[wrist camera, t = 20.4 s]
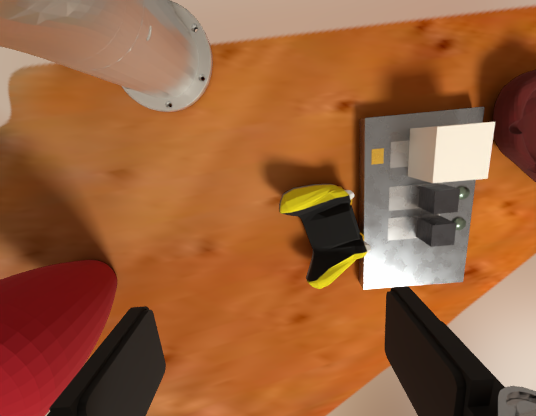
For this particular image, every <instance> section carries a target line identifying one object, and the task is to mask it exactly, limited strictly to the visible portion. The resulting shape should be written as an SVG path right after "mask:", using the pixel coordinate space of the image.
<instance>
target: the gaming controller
mask: <svg viewBox="0 0 536 416" xmlns="http://www.w3.org/2000/svg"><path fill="white" fill-rule="evenodd" d="M353 197H354V193H353V192H352V191H350V190H344V189H343V188H342V187H341V186H336V185H334V184H313V185H307V186H302V187H296V188H292V189H290V190H289V191H287V192H285V193H284V194H283V195H282V198H281V200H280V204H279V212H280V213H282V214H286V215H291V216H298V217H300V218H301V220H302V222H303V225H304V227H305V230H306V233H307V235H308V238H309V240H310V243H311V246H312V249H313V255H312V259H311V263H310V266H309V270H308V273H307V276H306V279H307V282H308V283H309V284H310V285H311V286H312V287H315V288H318V289H321V288H323V287H325V286H327V285H330V284H331V283H332V282H333V281H334V280H335V279H336V278H337V277H338V276H339V275H340V274H341V273H343V272H344V271H345V270H346V269H347V268H348V267H349V266H350V265H351V264H352V263H353V262H354V261H356V260H357V259H359V258H363V257H364V256H366V254H367V253H369V252H370V250H371V247H370V245H369V244H368V243H366V242H365V241H364V235H363V234H362V233H361V232H360V231H359V228H358V224H357V221H356V218H355V215H354V212H353V209H352V206H351V204H352V198H353Z"/></svg>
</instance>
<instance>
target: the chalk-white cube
mask: <svg viewBox="0 0 536 416" xmlns="http://www.w3.org/2000/svg"><path fill="white" fill-rule="evenodd" d="M494 128H495V122H483V123H469V124H455V125H444V126H433V127H422V128H411V129H410V142H409V160H408V177H412V178H416V179H419V180H423V181H426V182H430V183H442V182H453V181H465V180H477V179H487V178H488V171H489V164H490V157H491V150H492V143H493V135H494Z"/></svg>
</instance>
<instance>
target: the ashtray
mask: <svg viewBox="0 0 536 416" xmlns="http://www.w3.org/2000/svg"><path fill="white" fill-rule="evenodd" d="M493 122H495V128H494V139H495V141H496V144H497V146H498V148H499V149H500V151H501V152H502V153H503V154H504V155H505V156H506V157H508V158H509V159H510V160H512V161H513V162H514V163H515V164H516V165H517V166H518V167H519V168H520V169H521V170H523V171H524V172H525V173H526V174H527V175H528V176H529V177H530V178H531V179H533V180H534V181H535V182H536V70H533V71H530V72H527V73H524V74H521V75H519V76H518V77H516V78H514V79H513V80H512V81H510V82H509V83H508V84H507V85H506V86H504V87H503V89H502V90H501V92H500V94H499V96H498V98H497V100H496V103H495V106H494V113H493Z"/></svg>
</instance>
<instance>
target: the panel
mask: <svg viewBox="0 0 536 416" xmlns="http://www.w3.org/2000/svg"><path fill="white" fill-rule="evenodd" d="M483 115H484V107H475V108H465V109H455V110H444V111H434V112H423V113H413V114H402V115H392V116H382V117H371V118H363V119H360V183H359V231H360V232H361V233H362V234H363V235H364V241H365V242H366V243H368V244H369V245H370V247H371V250H370V252H369V253H367V254H366V256H364V257H363V258H359V283H360V284H361V286H362V288H363V289H376V288H389V287H402V286H415V285H428V284H441V283H454V282H463V278H464V270H465V261H466V253H467V245H468V237H469V229H470V221H471V213H472V204H473V196H474V188H475V180H465V181H453V182H442V183H430V182H426V181H423V180H419V179H416V178H412V177H408V160H409V142H410V129H411V128H422V127H433V126H444V125H455V124H469V123H483Z"/></svg>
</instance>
